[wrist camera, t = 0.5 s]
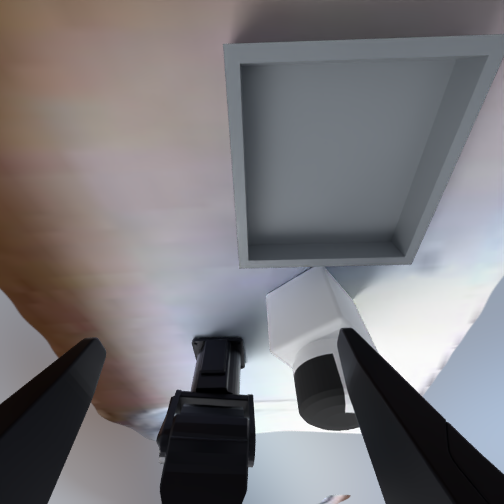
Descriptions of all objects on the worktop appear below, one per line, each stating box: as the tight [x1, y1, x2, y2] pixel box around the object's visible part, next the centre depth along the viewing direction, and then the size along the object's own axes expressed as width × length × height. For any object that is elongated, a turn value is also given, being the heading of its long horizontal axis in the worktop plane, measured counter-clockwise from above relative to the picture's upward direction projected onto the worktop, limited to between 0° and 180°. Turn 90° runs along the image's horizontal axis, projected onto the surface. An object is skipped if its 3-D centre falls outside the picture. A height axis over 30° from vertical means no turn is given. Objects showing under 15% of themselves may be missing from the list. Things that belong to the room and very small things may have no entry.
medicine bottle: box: [266, 267, 378, 431], centre depth 22 cm, size 7×7×12 cm
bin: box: [223, 34, 504, 269], centre depth 18 cm, size 15×15×3 cm
